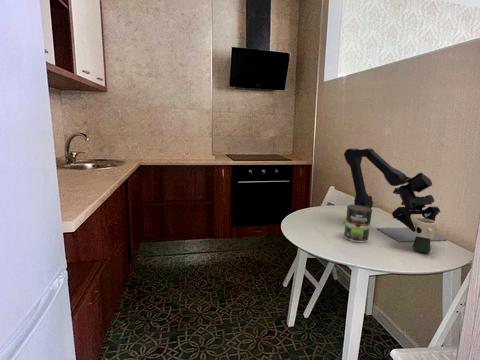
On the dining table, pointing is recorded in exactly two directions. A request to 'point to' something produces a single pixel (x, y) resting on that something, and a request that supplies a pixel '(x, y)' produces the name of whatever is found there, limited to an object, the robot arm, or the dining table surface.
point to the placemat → (405, 234)
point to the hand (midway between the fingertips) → (424, 231)
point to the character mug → (423, 234)
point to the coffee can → (357, 223)
